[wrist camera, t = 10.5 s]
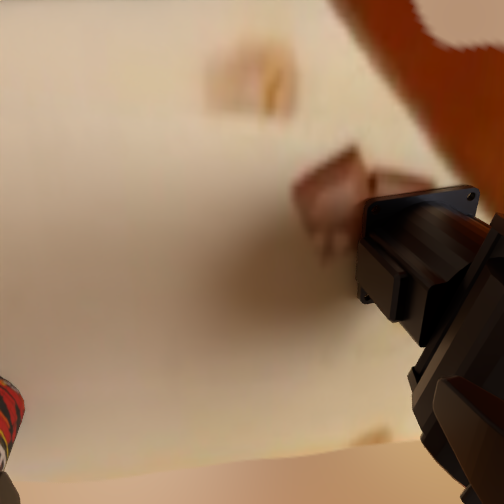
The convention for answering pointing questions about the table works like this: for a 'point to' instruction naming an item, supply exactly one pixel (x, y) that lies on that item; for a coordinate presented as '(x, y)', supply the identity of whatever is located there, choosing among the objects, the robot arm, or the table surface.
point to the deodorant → (9, 418)
